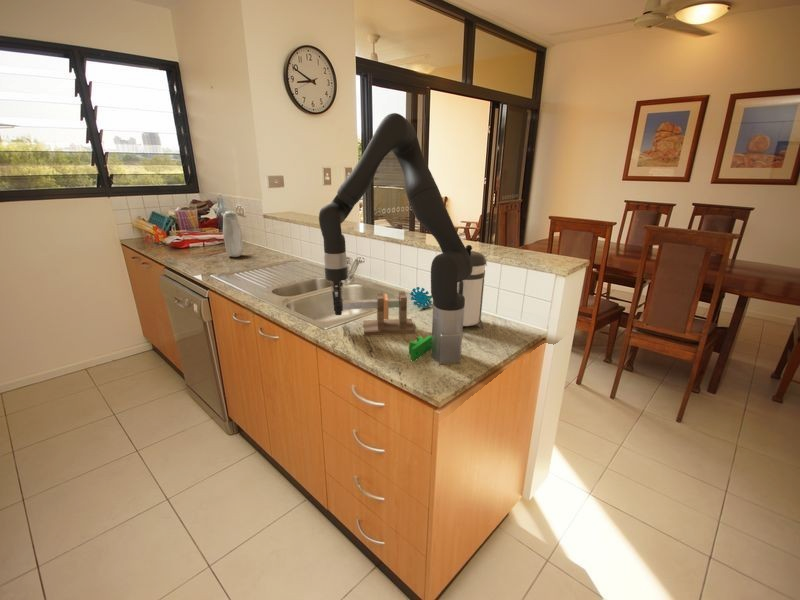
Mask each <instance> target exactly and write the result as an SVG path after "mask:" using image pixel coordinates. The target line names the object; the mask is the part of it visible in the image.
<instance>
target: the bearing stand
mask: <svg viewBox="0 0 800 600" xmlns="http://www.w3.org/2000/svg"><path fill="white" fill-rule="evenodd" d="M383 294H384V293H383V291H376V299H377V301H378V308H376V320H375V319H374V320H371V319H370V320H362V321H363V336H364V337H378V336H397V335H398V336H400V335H402V336H403V335H416V328H415V326H414V325H415V324H414V323H413V320H412V319H413V318H408V317H407V316H408V315H407V314H408V313H407V312H408V310H407V309H408V307H407V306H408V299H407V298H408V296H407V295H406V292H405V290H398V299H399V301H400V307H398V318H396V319H384V298H383Z"/></svg>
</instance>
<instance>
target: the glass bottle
mask: <svg viewBox="0 0 800 600" xmlns="http://www.w3.org/2000/svg"><path fill="white" fill-rule="evenodd" d="M236 214H237V213H235V211H233V210H226V211H224V213H223V216H222V219H223V220H222V221H223V222H222V223H223V225H222V234H223V236H222V237H223V240H224V247H225V250H226V254H227V255H228V256H230V257H231V258H238V257H241V255H242V254H243V252H244V245H243V235H242V229H241V227H240V224H239V221H238V218H237V215H236Z"/></svg>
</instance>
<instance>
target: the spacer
mask: <svg viewBox="0 0 800 600" xmlns="http://www.w3.org/2000/svg"><path fill="white" fill-rule="evenodd" d="M383 298H384V320H389V308H388V299H389V297H388V294H387V293H383Z"/></svg>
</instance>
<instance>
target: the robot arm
mask: <svg viewBox="0 0 800 600" xmlns="http://www.w3.org/2000/svg"><path fill="white" fill-rule="evenodd" d="M390 152H392V153H393V154H394V155H395V158H396V159H397V161H398V163H399V165H400V168H401V170H402V174H403V177H404V178H403V179H404V188H405V194H406V197H407V200H408V203H409V205H410V207H411V210H412V212H413V214H414V216H415V218H416V220H417V221H418V222H419V223H420V224H421V225H422V227H424V229H426V230H427V231H428V233H430V234H431V236H433V237H434V239H435V240H436V241H437V244H438V246H439V248H440V250H441V253H439V254H437V255H436V256H434V258H433V259H432V262H431V265H430V296H431V295H432V298H431V299H432V319H431V320H432V322H431V324H432V327H431V336H432V346H431V349H430V351H431V352H430V356H431V359H433V361H435V362H437V363H438V364H440V365H445V364H446V363H447V364H446V365H448V363H449V364H459V363H460V360H461V359H462V358H461V357H462V343H463V334H464V333H463V332H464V331H463V329H464V326H463V318H464V306H465V298H464V296H463V295H462V294H460V293H457V283H458V282H460V281H463V280H466V279H467V278H469V277H470V275H471V273H472V269H473V266H472V261H471V258H470V256H469V254H468V252H467V250H466V246H465V245H464V243H463V240H462V239H461V238H460V236H459V234H458V231H457V230H456V228H455V225H454V223H453V221H452V219H451V216H450V213H449V212H448V209H447V206H446V205H445V202H444V198H443V196H442V194H441V192H440V190H439V187H438V185H437V183H436V180H435V179H434V176H433V174H432V172H431V169H429V166H428V164H427V162H426V160H425V158H424V155H423V153H422V152H423V151H422V148H421V146H420V142H419V138H418V134H417V132H416V129H415V127H414V126H413V124H412V123H411V122H410V121H408V119H406V117H404V116H403V115H402V114H400V113H396V112H393V113H389V114H387V115H386V116H384V117H383V119H382V120H381V122H380V123H379V125H378V126H377V128H376V130H375V131H374V134H373V135H372V137H371V139H370V140H369V142H368V144H367V146H366V148H365V149H364V151H363V153H362V154H361V157H360V159H359V161H358V162H357V164H356V165H355V167H354V168H353V169H352V171H351V172H350V173H349V175H348V176H347V177H346V178H345V180H344V181H343V182H342V183H341V185H340V186H339V188H338V190H337V194H336V195H335V196H334V197H333V199H332V201H330V203H329V204H326V205H324V206H323V207H321V209H320V210H319V213H318V222H319V223H318V224H319V227H320V231H321V235H322V239H323V250H324V251H323V253H324V255H323V263H324V264H323V265H324V266H323V267H324V276H325V277H324V278H325V280H326V281H329V282H331V283H330V284H331V285H330V290H331V297H332V301H333V302H332V303H333V304H332V305H333V306H334V305H335V311H334V315H335V316H342V313H343V311H342V309H341V304H342V303H341V299H343V296H344V295H343V293H344V282H342V281H345V280H347V279H348V277H349V274H348V258H347V249H346V238H345V235H344V234H343V232H342V223H343V222H345V221H346V219H347V218H348V216H349V215H350V213H351V212H352V210H354V209H353V208H354V207H355V206H356V205H357V203H359V202H360V200H361V199H362V198H363V196H364V195H365V194H366V192H367V191H368V190H369V189H370V187H371V185H372V182H373V180H374V178H375V175H376V173H377V171H378V168H379V166H380V164H381V163H382V162H383V160H384V159H385V157H386V156H387V155H389V153H390ZM336 301H339V302H336Z"/></svg>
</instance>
